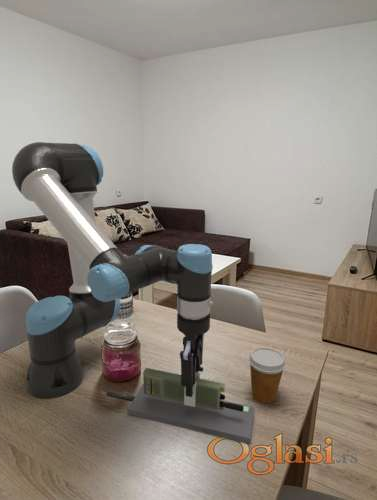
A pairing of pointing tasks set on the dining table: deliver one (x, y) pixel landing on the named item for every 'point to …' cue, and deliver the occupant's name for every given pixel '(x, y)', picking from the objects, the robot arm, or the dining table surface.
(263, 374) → the disposable coffee cup
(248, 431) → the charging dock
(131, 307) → the decorative candle
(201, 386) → the handheld radio
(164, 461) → the dining table surface
